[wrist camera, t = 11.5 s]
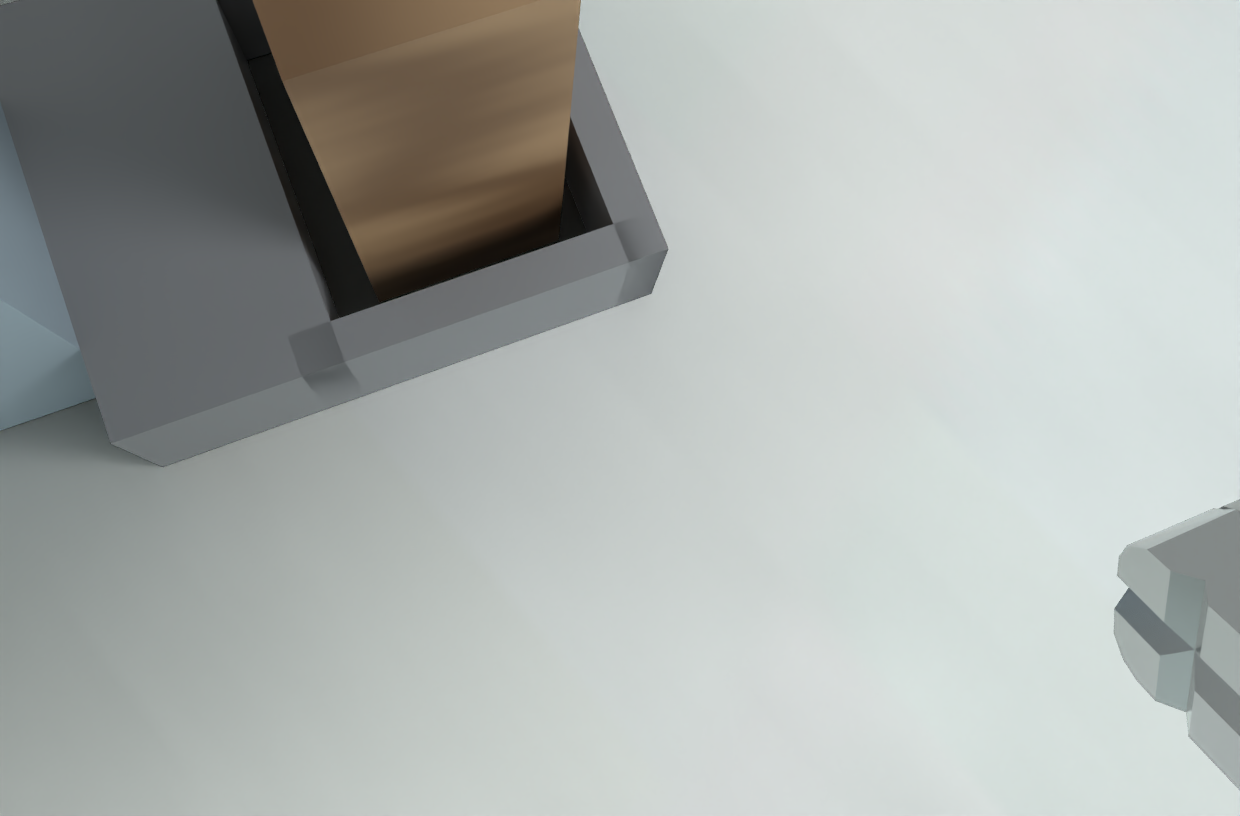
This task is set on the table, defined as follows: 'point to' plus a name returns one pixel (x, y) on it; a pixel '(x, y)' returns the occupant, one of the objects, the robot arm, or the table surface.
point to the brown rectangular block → (433, 124)
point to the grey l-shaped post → (233, 238)
